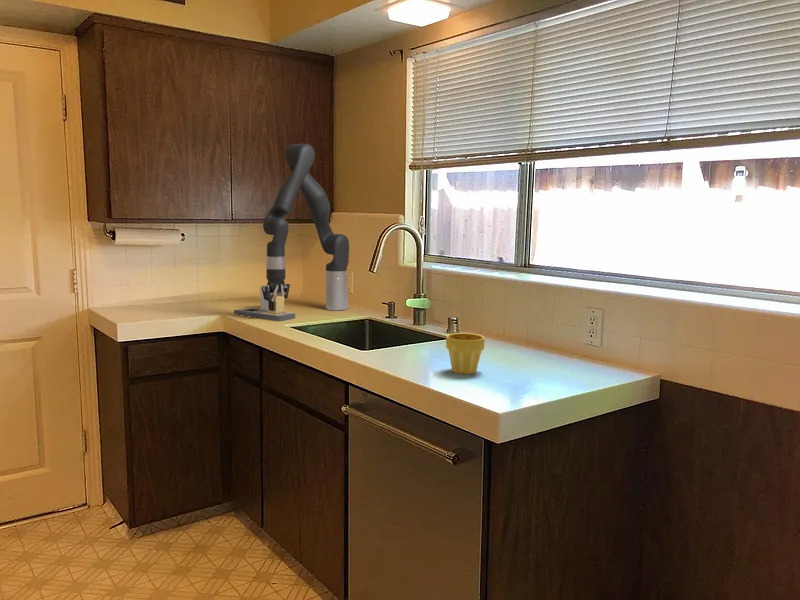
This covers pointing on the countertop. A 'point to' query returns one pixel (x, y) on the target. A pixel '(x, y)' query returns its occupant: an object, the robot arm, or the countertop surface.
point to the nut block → (278, 305)
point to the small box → (263, 302)
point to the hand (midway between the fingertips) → (276, 309)
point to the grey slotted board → (264, 314)
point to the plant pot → (464, 351)
